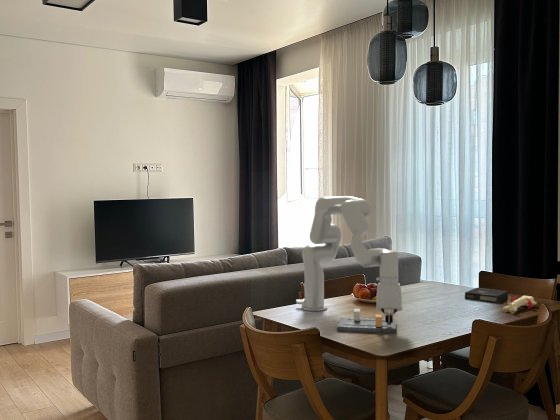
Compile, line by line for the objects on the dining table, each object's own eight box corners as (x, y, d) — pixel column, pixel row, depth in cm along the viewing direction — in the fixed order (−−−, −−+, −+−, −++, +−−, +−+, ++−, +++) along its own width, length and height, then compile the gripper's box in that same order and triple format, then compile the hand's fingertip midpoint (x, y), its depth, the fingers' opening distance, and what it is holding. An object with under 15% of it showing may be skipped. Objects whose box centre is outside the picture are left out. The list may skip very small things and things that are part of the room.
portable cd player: (464, 300, 292) (464, 292, 292) (477, 294, 305) (477, 287, 305) (496, 304, 282) (496, 296, 282) (507, 298, 295) (507, 291, 294)
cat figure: (519, 317, 258) (540, 304, 275) (518, 299, 257) (540, 287, 274) (498, 314, 265) (520, 301, 282) (497, 296, 264) (520, 284, 281)
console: (337, 331, 233) (337, 326, 233) (340, 321, 249) (340, 317, 249) (395, 333, 228) (395, 328, 228) (395, 323, 244) (395, 319, 244)
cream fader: (353, 320, 242) (353, 311, 242) (354, 317, 246) (354, 308, 246) (359, 320, 241) (359, 311, 241) (360, 318, 246) (360, 308, 246)
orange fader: (375, 326, 231) (375, 316, 231) (375, 323, 236) (375, 314, 235) (381, 326, 231) (381, 317, 230) (381, 324, 235) (381, 314, 235)
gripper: (370, 281, 229) (370, 325, 230) (407, 282, 226) (407, 327, 227) (371, 278, 236) (371, 321, 237) (407, 279, 234) (407, 322, 234)
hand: (389, 324), depth 232 cm, fingers closed
